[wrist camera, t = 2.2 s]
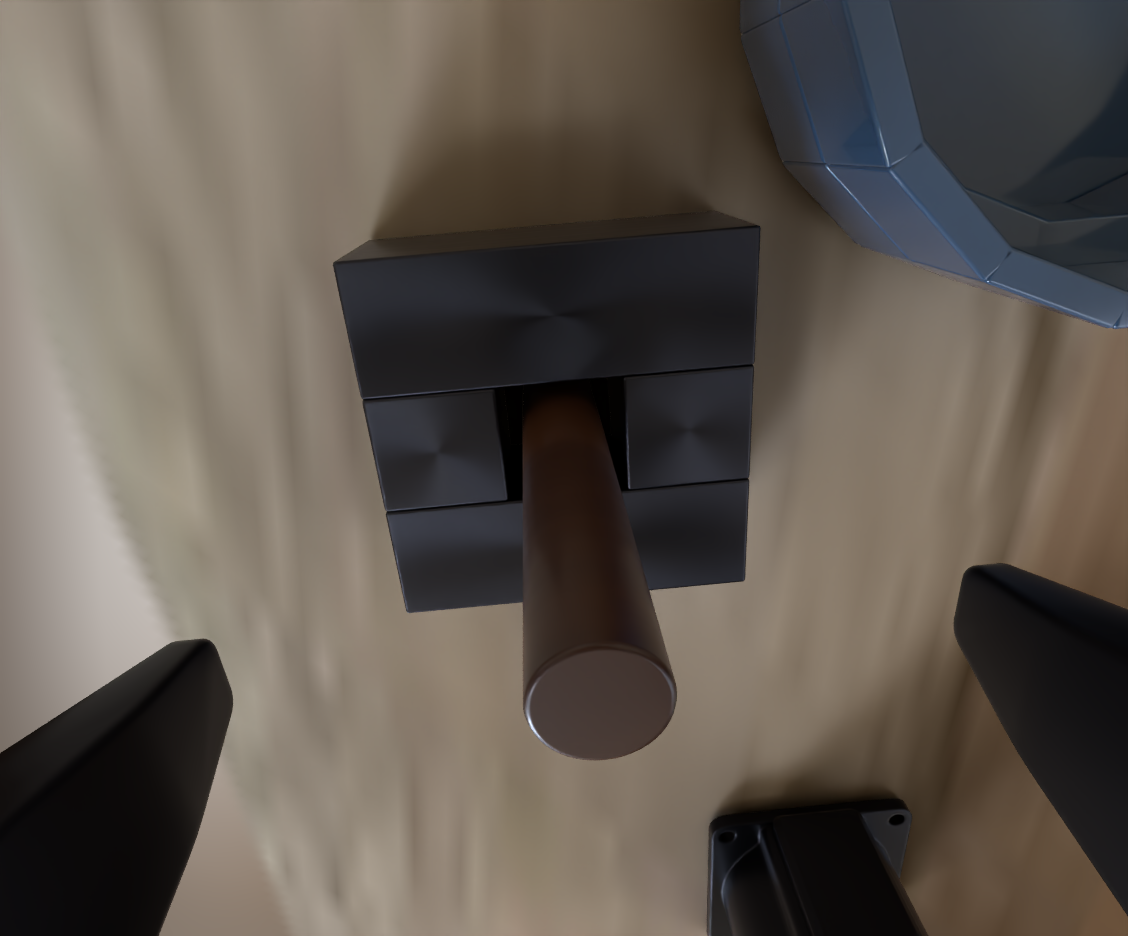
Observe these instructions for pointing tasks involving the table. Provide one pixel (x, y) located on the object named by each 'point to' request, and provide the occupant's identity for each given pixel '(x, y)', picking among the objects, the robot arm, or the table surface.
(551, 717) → the stick
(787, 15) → the bowl
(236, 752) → the table surface
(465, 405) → the holder
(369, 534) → the table surface
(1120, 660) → the robot arm
